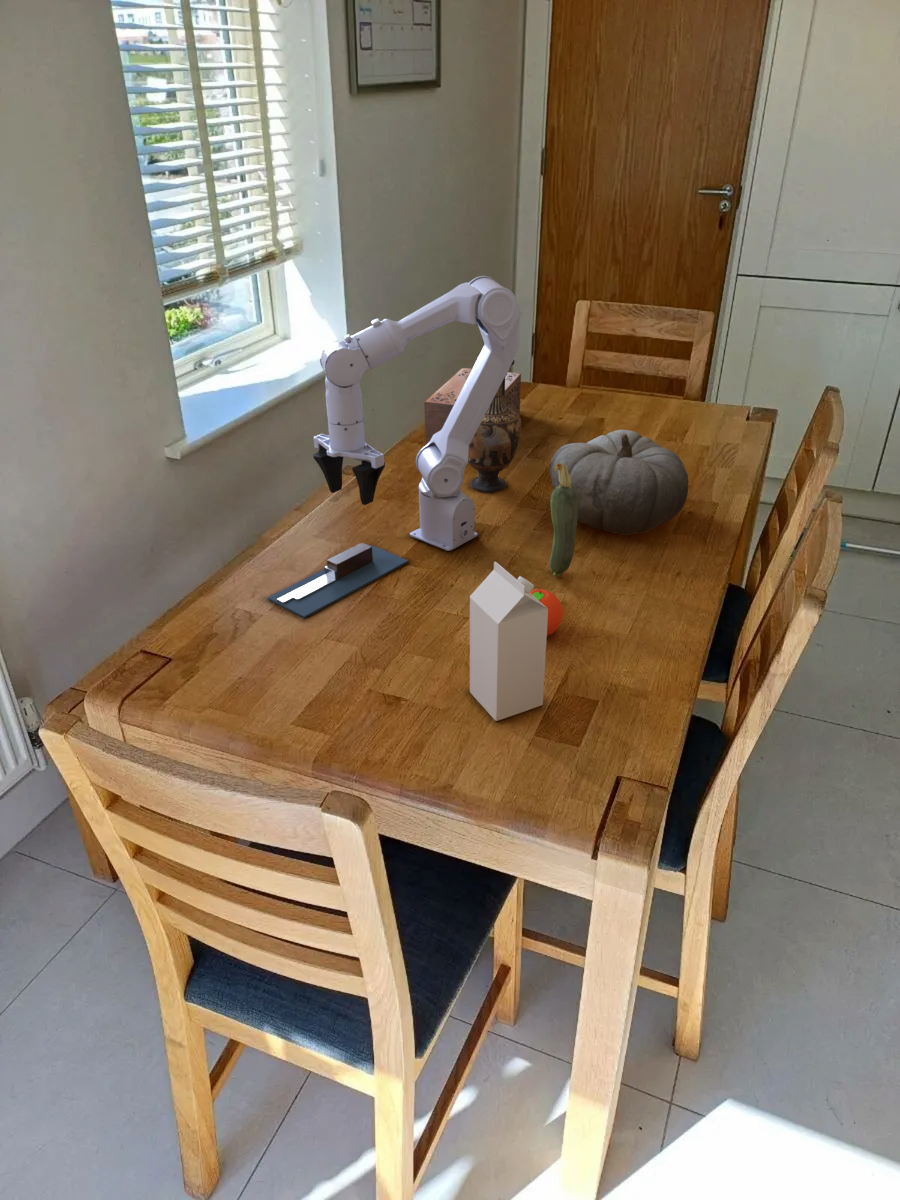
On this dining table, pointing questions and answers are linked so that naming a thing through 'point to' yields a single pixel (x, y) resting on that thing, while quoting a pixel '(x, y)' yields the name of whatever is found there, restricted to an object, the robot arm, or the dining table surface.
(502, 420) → the vase
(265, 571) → the dining table surface
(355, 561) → the knife
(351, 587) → the mat
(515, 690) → the milk carton
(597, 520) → the gourd
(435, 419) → the tissue box cover
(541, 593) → the clementine
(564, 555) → the vegetable
